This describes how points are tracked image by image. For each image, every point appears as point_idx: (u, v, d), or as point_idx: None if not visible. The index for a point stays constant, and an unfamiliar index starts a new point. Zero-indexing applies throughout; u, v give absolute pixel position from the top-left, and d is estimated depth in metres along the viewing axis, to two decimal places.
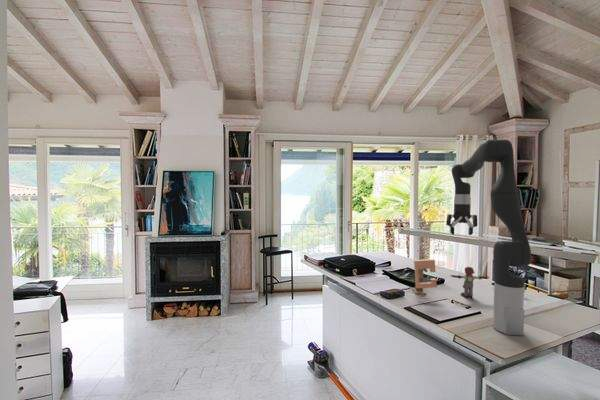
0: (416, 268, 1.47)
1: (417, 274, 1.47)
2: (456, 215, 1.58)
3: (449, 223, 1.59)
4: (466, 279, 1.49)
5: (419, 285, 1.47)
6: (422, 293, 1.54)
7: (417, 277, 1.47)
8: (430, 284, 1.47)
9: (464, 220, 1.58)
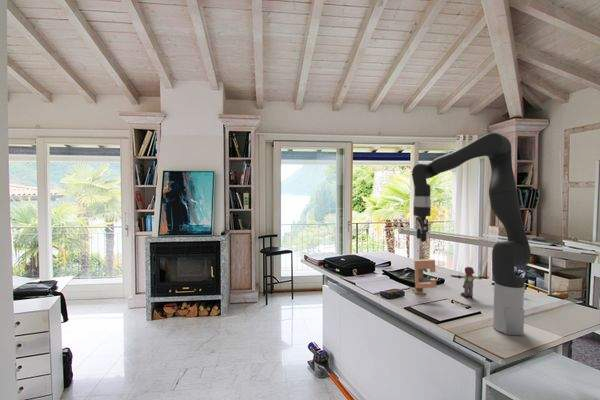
0: (416, 268, 1.47)
1: (417, 274, 1.47)
2: None
3: None
4: (466, 279, 1.49)
5: (419, 285, 1.47)
6: (422, 293, 1.54)
7: (417, 277, 1.47)
8: (430, 284, 1.47)
9: None
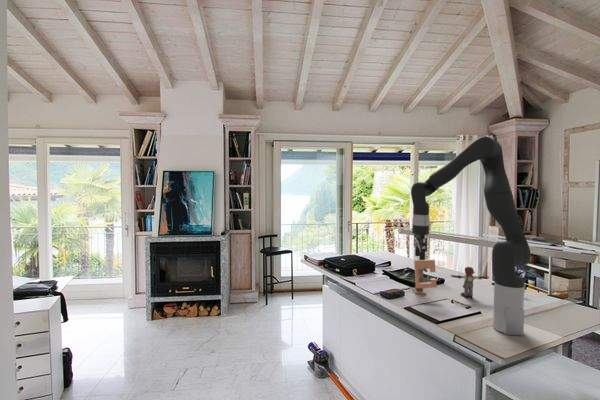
0: (416, 268, 1.47)
1: (417, 274, 1.47)
2: None
3: None
4: (466, 279, 1.49)
5: (419, 285, 1.47)
6: (422, 293, 1.54)
7: (417, 277, 1.47)
8: (430, 284, 1.47)
9: None
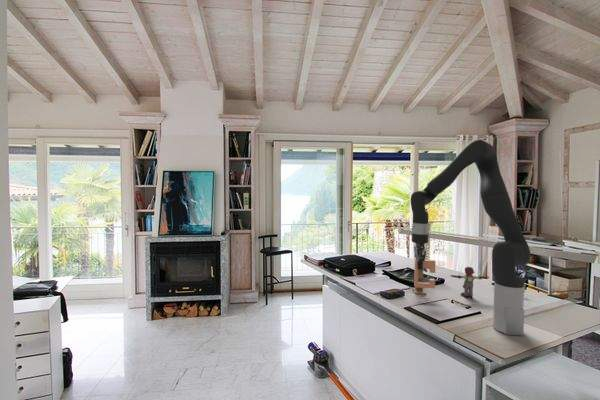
0: (416, 267, 1.47)
1: (416, 273, 1.47)
2: None
3: None
4: (466, 279, 1.49)
5: (417, 284, 1.47)
6: (422, 293, 1.54)
7: (416, 276, 1.47)
8: (428, 284, 1.47)
9: None
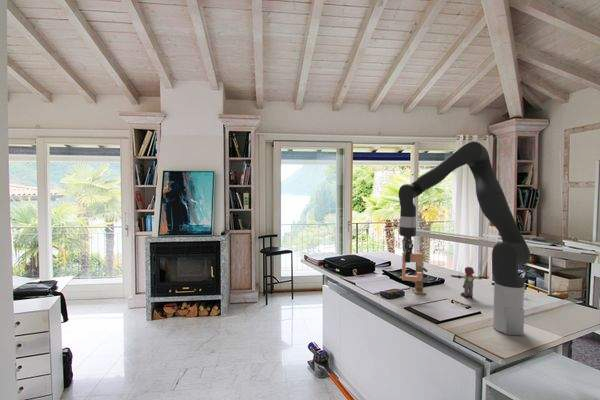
0: (404, 260, 1.48)
1: (404, 266, 1.48)
2: None
3: None
4: (466, 279, 1.49)
5: (405, 277, 1.48)
6: (422, 293, 1.54)
7: (404, 269, 1.48)
8: (416, 277, 1.47)
9: None
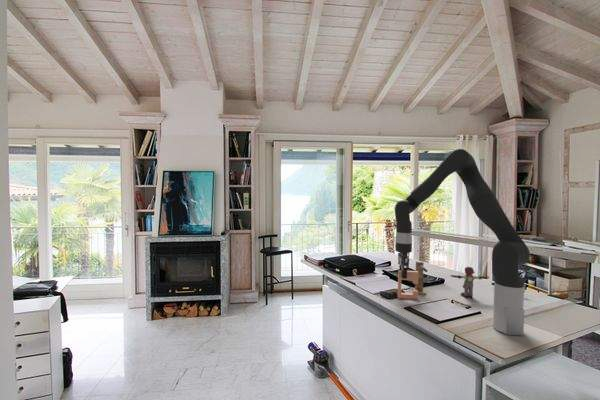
0: (399, 278, 1.48)
1: (400, 284, 1.48)
2: None
3: None
4: (466, 279, 1.49)
5: (401, 295, 1.48)
6: (422, 293, 1.54)
7: (399, 287, 1.48)
8: (412, 295, 1.48)
9: None
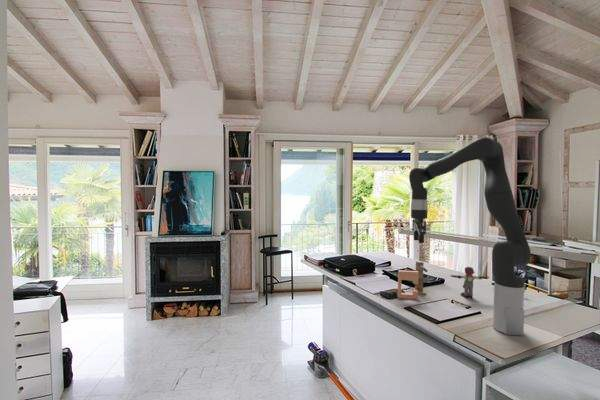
0: (399, 278, 1.48)
1: (400, 284, 1.48)
2: None
3: None
4: (466, 279, 1.49)
5: (401, 295, 1.48)
6: (422, 293, 1.54)
7: (399, 287, 1.48)
8: (412, 295, 1.48)
9: None
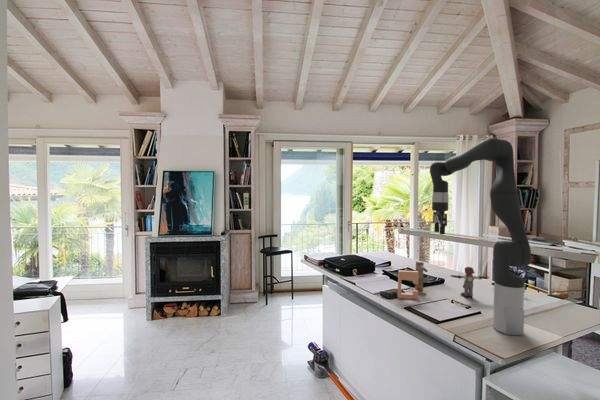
0: (399, 278, 1.48)
1: (400, 284, 1.48)
2: None
3: None
4: (466, 279, 1.49)
5: (401, 295, 1.48)
6: (422, 293, 1.54)
7: (399, 287, 1.48)
8: (412, 295, 1.48)
9: None
